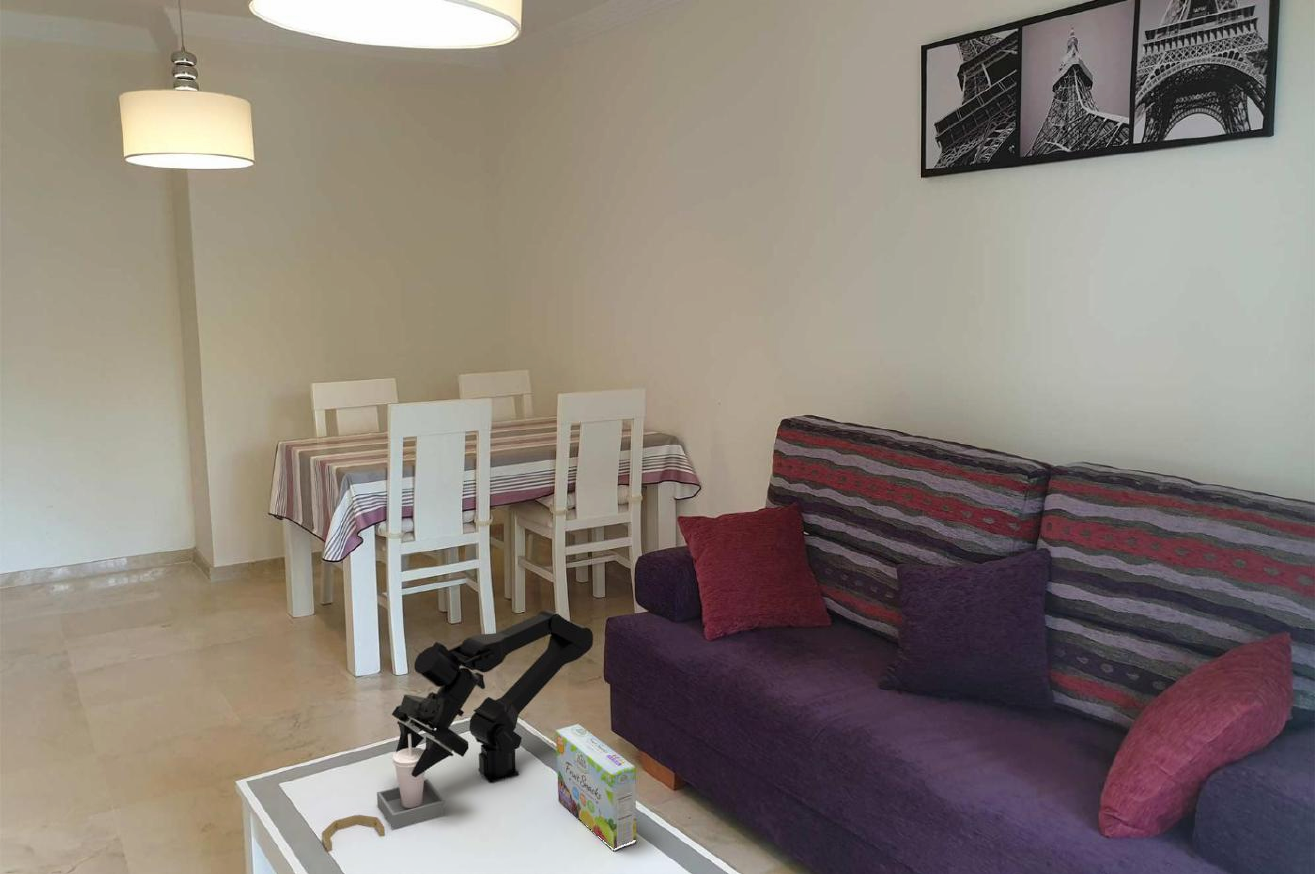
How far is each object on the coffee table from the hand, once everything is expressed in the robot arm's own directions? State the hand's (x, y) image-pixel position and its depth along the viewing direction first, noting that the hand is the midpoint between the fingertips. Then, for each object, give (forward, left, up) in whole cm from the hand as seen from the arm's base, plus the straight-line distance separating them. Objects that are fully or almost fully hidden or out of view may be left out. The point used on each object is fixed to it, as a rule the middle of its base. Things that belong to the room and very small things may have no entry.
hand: (403, 770), depth 190 cm
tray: (-1, 0, -9) cm, 9 cm away
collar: (+11, +2, -9) cm, 14 cm away
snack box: (-29, +22, -9) cm, 37 cm away
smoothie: (-1, 0, -7) cm, 7 cm away
